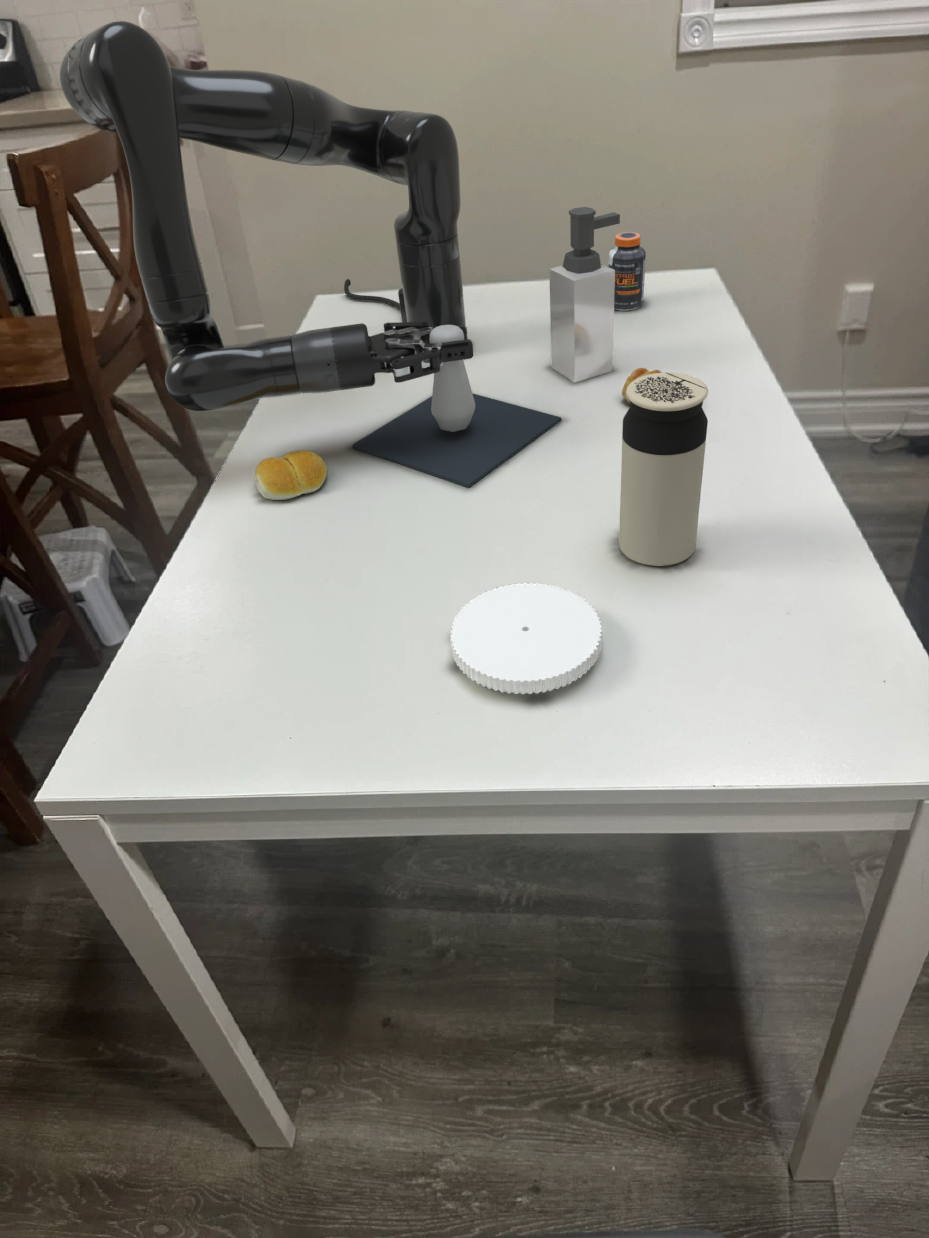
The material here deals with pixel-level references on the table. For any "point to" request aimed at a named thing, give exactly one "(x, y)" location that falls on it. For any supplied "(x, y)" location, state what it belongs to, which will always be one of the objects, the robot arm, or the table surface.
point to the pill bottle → (628, 271)
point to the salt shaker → (451, 386)
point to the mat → (458, 439)
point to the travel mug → (662, 467)
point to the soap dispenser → (583, 302)
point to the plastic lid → (526, 638)
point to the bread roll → (290, 475)
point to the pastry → (634, 376)
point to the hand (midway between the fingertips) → (468, 341)
